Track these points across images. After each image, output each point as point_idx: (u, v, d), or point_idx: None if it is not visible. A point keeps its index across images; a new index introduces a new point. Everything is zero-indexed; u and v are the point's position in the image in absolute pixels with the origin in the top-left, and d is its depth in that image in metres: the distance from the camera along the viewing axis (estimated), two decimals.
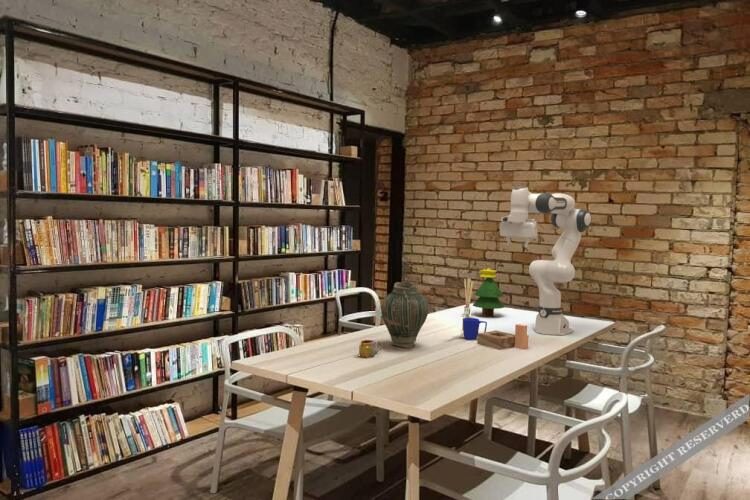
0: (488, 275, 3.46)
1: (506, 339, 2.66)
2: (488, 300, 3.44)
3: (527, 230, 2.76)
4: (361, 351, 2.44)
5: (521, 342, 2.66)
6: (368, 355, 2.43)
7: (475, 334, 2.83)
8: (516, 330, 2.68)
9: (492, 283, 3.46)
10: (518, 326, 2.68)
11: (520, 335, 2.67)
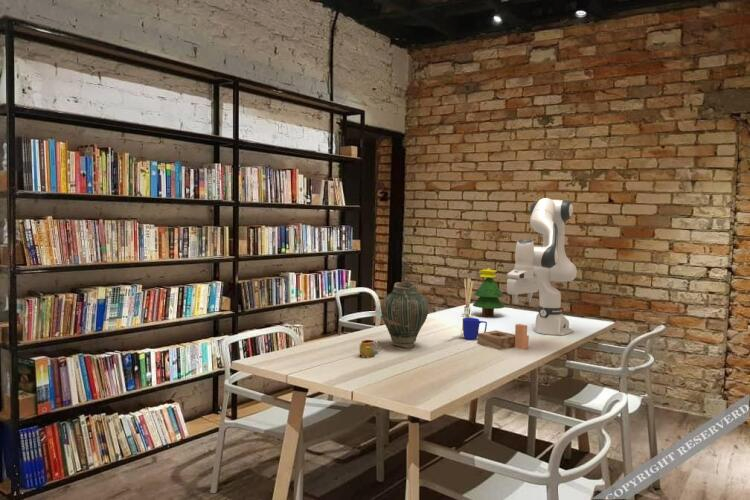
0: (488, 275, 3.46)
1: (506, 339, 2.66)
2: (488, 300, 3.44)
3: (534, 284, 2.69)
4: (361, 351, 2.44)
5: (521, 342, 2.66)
6: (368, 355, 2.43)
7: (475, 334, 2.83)
8: (516, 330, 2.68)
9: (492, 283, 3.46)
10: (518, 326, 2.68)
11: (520, 335, 2.67)
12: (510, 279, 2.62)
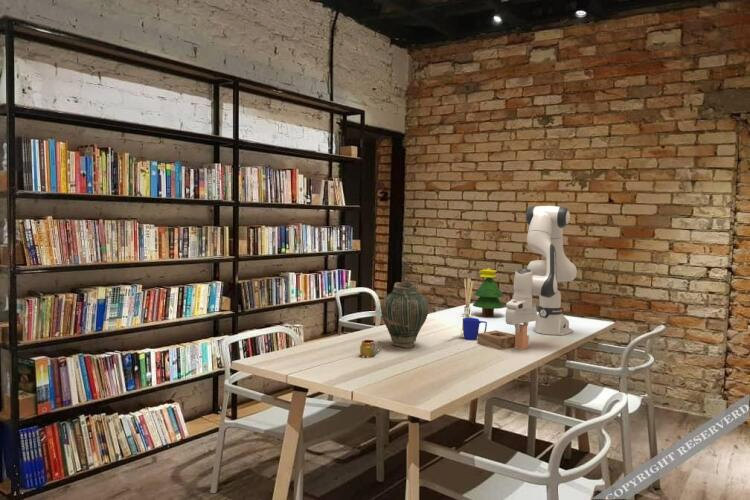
0: (488, 275, 3.46)
1: (506, 339, 2.66)
2: (488, 300, 3.44)
3: (533, 313, 2.70)
4: (362, 351, 2.44)
5: (521, 342, 2.66)
6: (369, 355, 2.44)
7: (475, 334, 2.83)
8: None
9: (492, 283, 3.46)
10: None
11: (520, 335, 2.67)
12: (509, 309, 2.63)
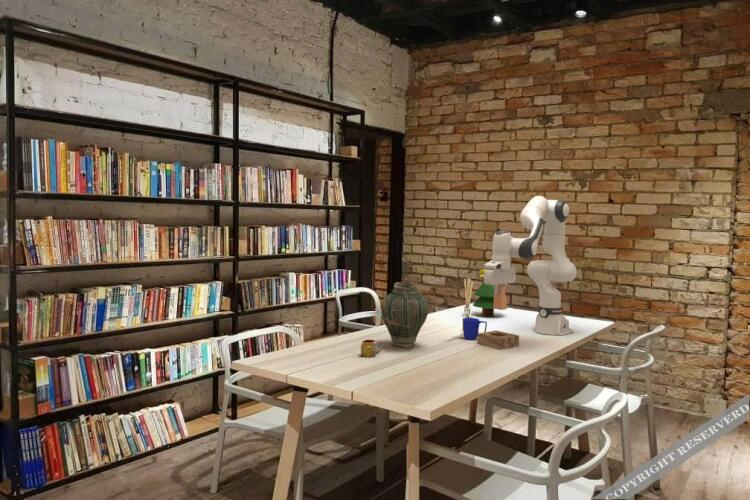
0: None
1: (506, 339, 2.66)
2: (488, 300, 3.44)
3: (511, 275, 2.74)
4: (363, 351, 2.44)
5: (500, 303, 2.69)
6: (370, 355, 2.44)
7: (475, 334, 2.83)
8: None
9: None
10: None
11: (499, 296, 2.70)
12: (487, 270, 2.66)
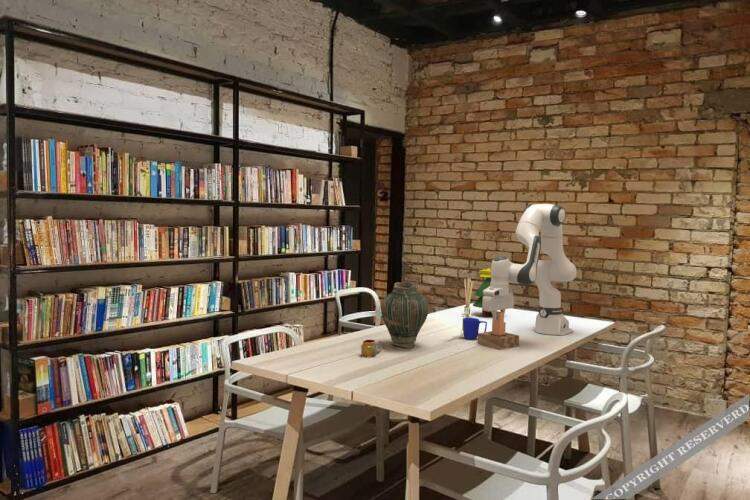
0: (488, 275, 3.46)
1: (506, 339, 2.66)
2: None
3: (510, 300, 2.75)
4: (363, 350, 2.45)
5: (498, 329, 2.71)
6: (370, 354, 2.44)
7: (475, 334, 2.83)
8: None
9: None
10: None
11: (497, 322, 2.71)
12: (485, 296, 2.67)
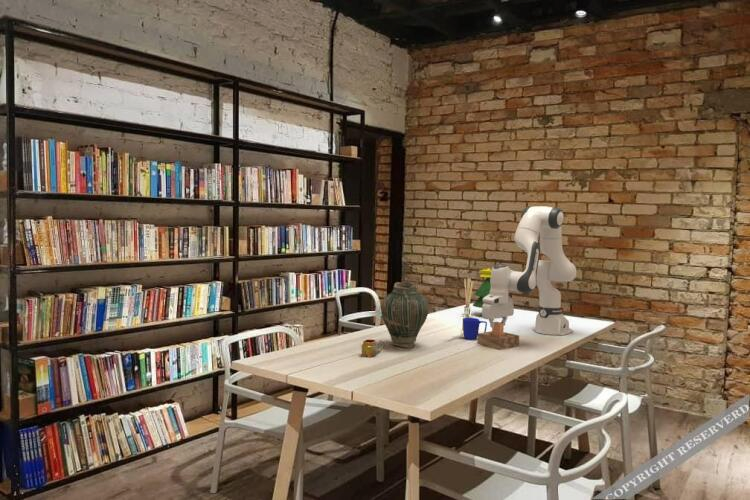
0: (488, 275, 3.46)
1: (506, 339, 2.66)
2: None
3: (509, 308, 2.75)
4: (363, 350, 2.45)
5: None
6: (370, 354, 2.44)
7: (475, 334, 2.83)
8: (493, 327, 2.73)
9: None
10: (495, 324, 2.72)
11: (497, 332, 2.71)
12: (485, 304, 2.67)
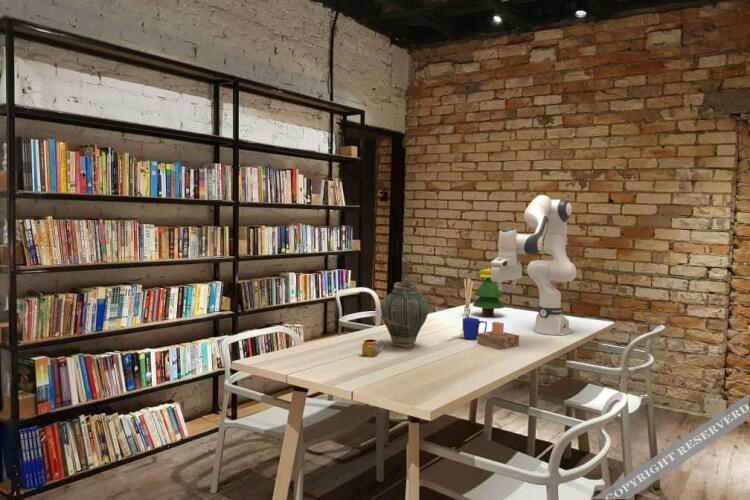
0: (488, 275, 3.46)
1: (506, 339, 2.66)
2: (488, 300, 3.44)
3: (518, 271, 2.77)
4: (364, 350, 2.45)
5: None
6: (371, 354, 2.45)
7: (475, 334, 2.83)
8: (493, 327, 2.73)
9: (492, 283, 3.46)
10: (495, 324, 2.72)
11: (497, 332, 2.71)
12: (494, 267, 2.69)
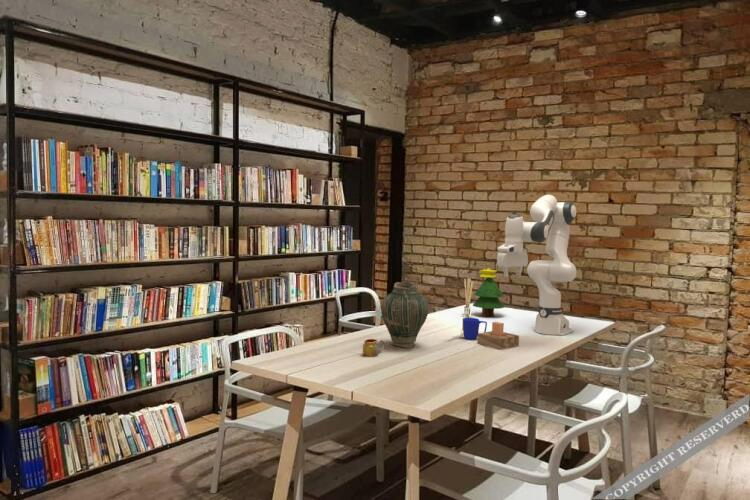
0: (488, 275, 3.46)
1: (506, 339, 2.66)
2: (488, 300, 3.44)
3: (524, 258, 2.79)
4: (365, 350, 2.46)
5: None
6: (371, 354, 2.45)
7: (475, 334, 2.83)
8: (493, 327, 2.73)
9: (492, 283, 3.46)
10: (495, 324, 2.72)
11: (497, 332, 2.71)
12: (500, 253, 2.72)
